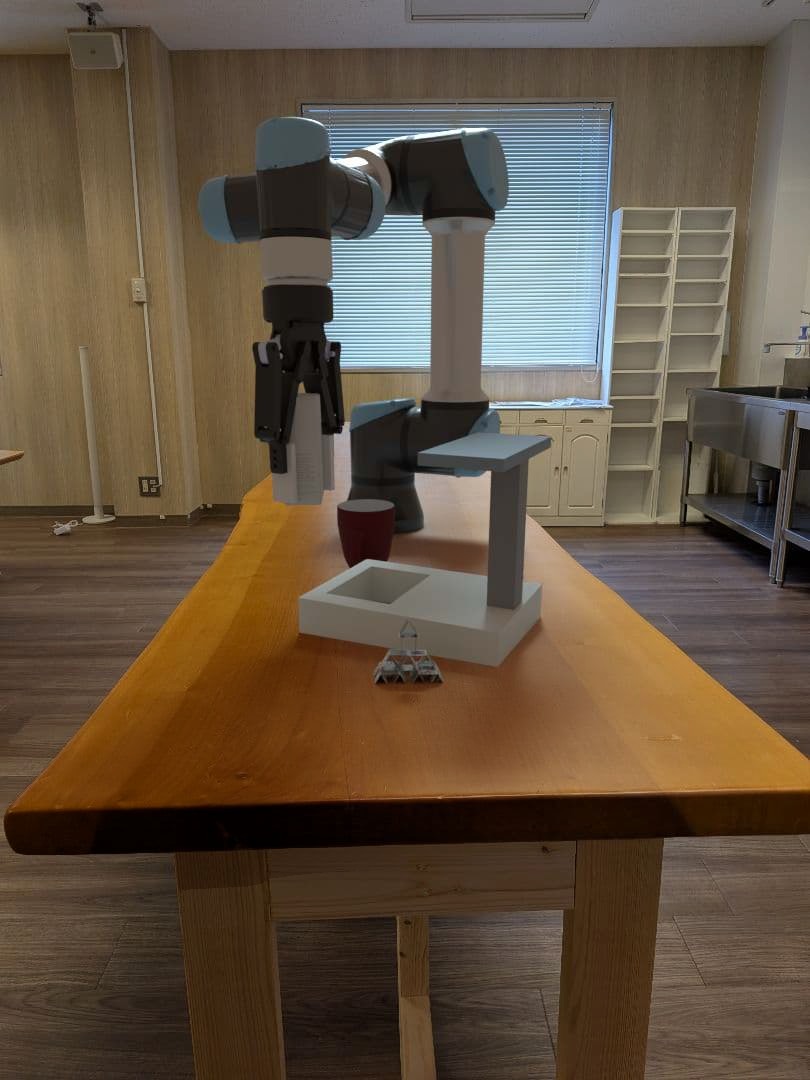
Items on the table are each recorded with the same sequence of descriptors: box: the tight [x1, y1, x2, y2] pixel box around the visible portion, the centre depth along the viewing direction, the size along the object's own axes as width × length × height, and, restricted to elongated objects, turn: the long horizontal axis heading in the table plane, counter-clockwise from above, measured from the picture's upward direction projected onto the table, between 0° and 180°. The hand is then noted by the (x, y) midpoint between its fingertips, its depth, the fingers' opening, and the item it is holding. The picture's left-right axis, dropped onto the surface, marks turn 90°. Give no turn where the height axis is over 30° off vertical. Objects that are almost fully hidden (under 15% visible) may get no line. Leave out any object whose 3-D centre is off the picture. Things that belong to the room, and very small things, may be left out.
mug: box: [336, 499, 395, 569], centre depth 101 cm, size 11×8×10 cm
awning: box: [418, 432, 552, 610], centre depth 77 cm, size 17×8×17 cm, turn 155°
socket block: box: [297, 559, 543, 668], centre depth 83 cm, size 16×23×5 cm
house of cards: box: [373, 617, 444, 684], centre depth 71 cm, size 9×9×8 cm
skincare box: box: [284, 392, 325, 507], centre depth 82 cm, size 6×4×12 cm
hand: (305, 494), depth 84 cm, fingers closed on skincare box, 7 cm apart
